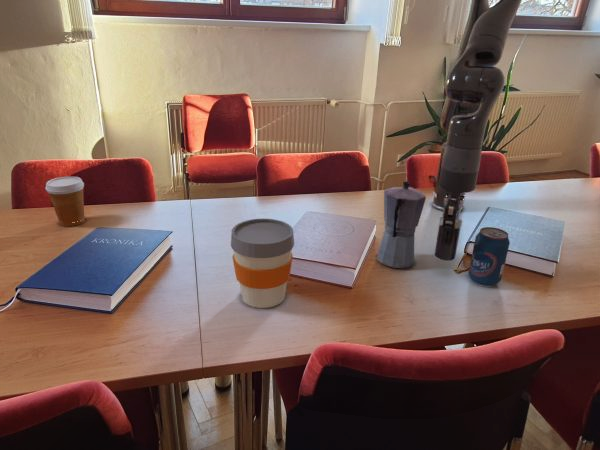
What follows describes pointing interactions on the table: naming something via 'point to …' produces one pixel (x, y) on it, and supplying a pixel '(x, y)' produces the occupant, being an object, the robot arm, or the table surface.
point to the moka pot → (400, 225)
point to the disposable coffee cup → (67, 199)
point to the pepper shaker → (447, 250)
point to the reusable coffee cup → (262, 260)
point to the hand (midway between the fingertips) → (447, 238)
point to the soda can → (489, 256)
